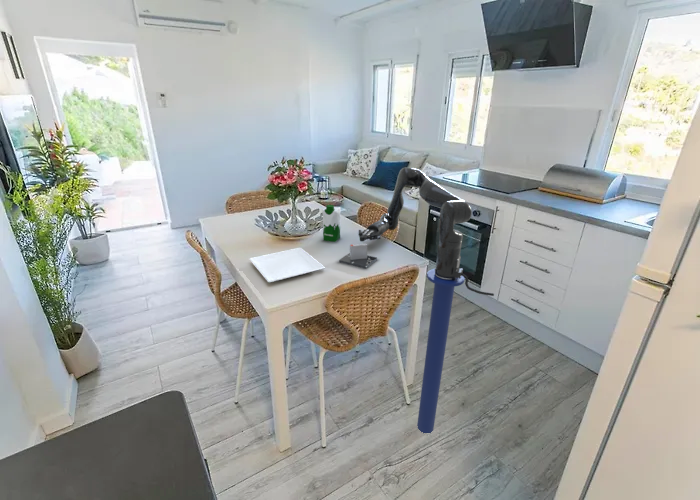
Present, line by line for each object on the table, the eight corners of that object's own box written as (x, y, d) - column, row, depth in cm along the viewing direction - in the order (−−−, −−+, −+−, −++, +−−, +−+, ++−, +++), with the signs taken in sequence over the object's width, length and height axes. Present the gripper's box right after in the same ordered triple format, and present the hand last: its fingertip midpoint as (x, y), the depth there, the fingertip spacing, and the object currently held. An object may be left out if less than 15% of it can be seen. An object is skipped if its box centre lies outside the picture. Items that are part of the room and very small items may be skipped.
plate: (325, 271, 154) (325, 267, 153) (268, 286, 141) (268, 281, 140) (300, 250, 174) (300, 246, 173) (249, 262, 161) (248, 258, 160)
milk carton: (321, 241, 188) (320, 206, 180) (327, 236, 196) (327, 201, 188) (336, 244, 186) (336, 207, 178) (342, 238, 194) (342, 203, 186)
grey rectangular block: (365, 257, 166) (366, 243, 163) (366, 258, 164) (367, 244, 162) (349, 258, 164) (350, 244, 161) (350, 260, 162) (350, 245, 160)
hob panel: (377, 260, 167) (377, 257, 166) (365, 269, 157) (365, 266, 156) (351, 254, 173) (351, 251, 172) (338, 263, 163) (338, 259, 162)
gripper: (365, 220, 186) (349, 229, 171) (388, 225, 180) (373, 234, 166) (365, 234, 188) (349, 244, 174) (387, 238, 182) (373, 249, 168)
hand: (361, 239), depth 170 cm, fingers closed
